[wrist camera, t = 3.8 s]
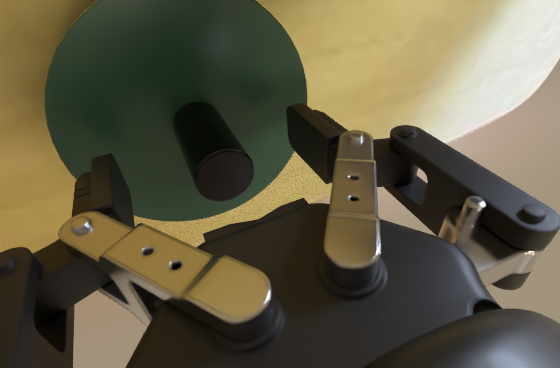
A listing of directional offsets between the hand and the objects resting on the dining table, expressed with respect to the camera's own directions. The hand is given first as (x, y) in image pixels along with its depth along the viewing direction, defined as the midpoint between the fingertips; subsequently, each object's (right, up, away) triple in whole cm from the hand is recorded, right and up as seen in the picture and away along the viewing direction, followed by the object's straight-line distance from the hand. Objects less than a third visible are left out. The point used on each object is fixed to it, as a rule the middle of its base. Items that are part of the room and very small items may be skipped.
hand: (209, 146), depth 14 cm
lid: (-1, +2, +2) cm, 3 cm away
